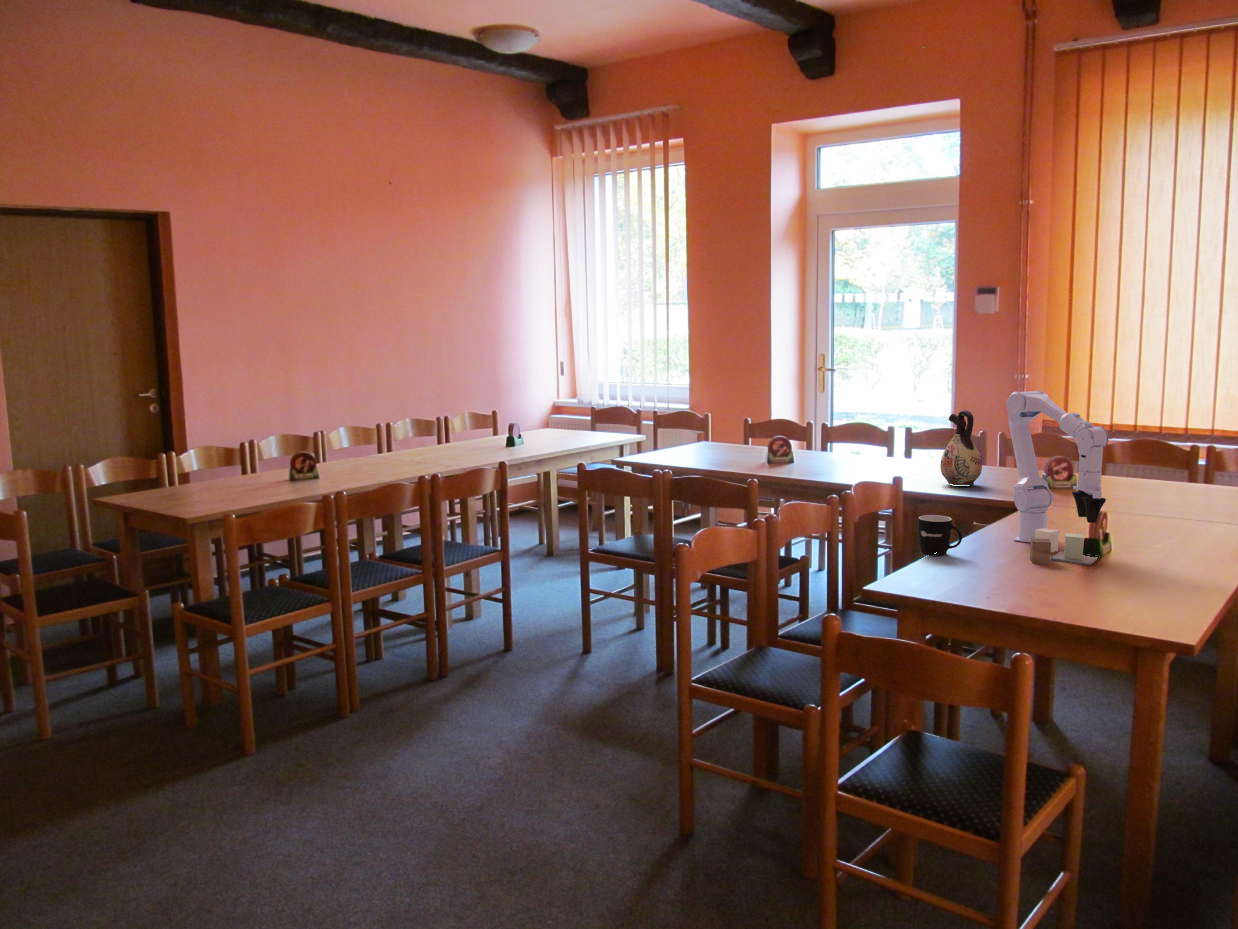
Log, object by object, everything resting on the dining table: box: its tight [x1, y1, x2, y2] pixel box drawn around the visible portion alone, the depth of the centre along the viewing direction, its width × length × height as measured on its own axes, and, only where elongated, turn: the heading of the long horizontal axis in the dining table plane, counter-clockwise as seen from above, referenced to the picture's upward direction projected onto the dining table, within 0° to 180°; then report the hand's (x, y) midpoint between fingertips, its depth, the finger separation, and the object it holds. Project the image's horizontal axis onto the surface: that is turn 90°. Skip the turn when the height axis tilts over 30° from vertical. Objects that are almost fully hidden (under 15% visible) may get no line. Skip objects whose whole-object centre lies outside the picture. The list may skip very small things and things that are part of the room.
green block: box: [1063, 532, 1085, 560], centre depth 268 cm, size 4×4×6 cm
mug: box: [917, 514, 963, 557], centre depth 275 cm, size 12×9×10 cm
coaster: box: [1050, 550, 1098, 566], centre depth 268 cm, size 10×10×1 cm
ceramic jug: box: [939, 409, 983, 486], centre depth 382 cm, size 17×15×30 cm
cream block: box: [1035, 527, 1060, 554], centre depth 278 cm, size 4×4×6 cm
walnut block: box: [1029, 538, 1051, 565], centre depth 265 cm, size 4×4×6 cm
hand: (1087, 519), depth 271 cm, fingers open, 7 cm apart
